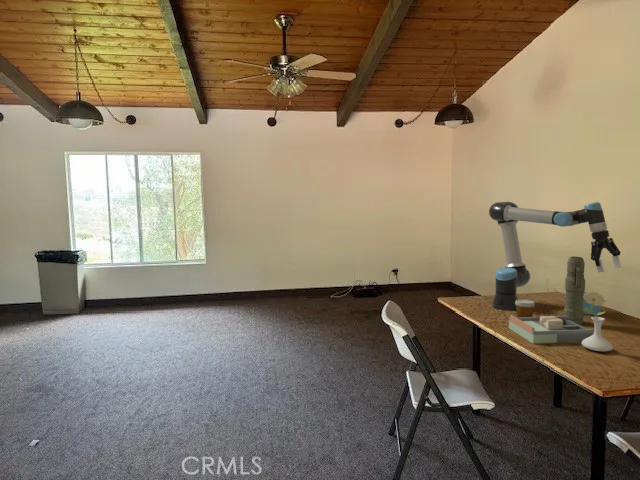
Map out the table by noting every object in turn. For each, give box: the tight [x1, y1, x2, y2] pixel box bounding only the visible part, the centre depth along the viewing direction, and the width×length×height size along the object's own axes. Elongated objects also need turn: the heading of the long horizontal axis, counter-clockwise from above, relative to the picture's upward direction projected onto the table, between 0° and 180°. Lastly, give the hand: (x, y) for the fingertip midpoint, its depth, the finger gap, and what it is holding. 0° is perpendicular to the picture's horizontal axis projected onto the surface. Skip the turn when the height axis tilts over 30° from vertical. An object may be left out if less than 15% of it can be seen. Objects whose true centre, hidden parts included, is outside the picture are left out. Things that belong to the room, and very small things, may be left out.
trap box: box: [508, 314, 595, 344], centre depth 192 cm, size 22×30×7 cm
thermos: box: [563, 256, 586, 326], centre depth 208 cm, size 9×12×35 cm
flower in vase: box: [580, 291, 614, 352], centre depth 172 cm, size 13×11×25 cm
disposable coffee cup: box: [515, 298, 536, 317], centre depth 209 cm, size 10×10×12 cm
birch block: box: [539, 315, 563, 329], centre depth 191 cm, size 7×7×4 cm
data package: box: [583, 291, 602, 316], centre depth 224 cm, size 12×4×12 cm, turn 69°
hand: (609, 270), depth 209 cm, fingers open, 13 cm apart
